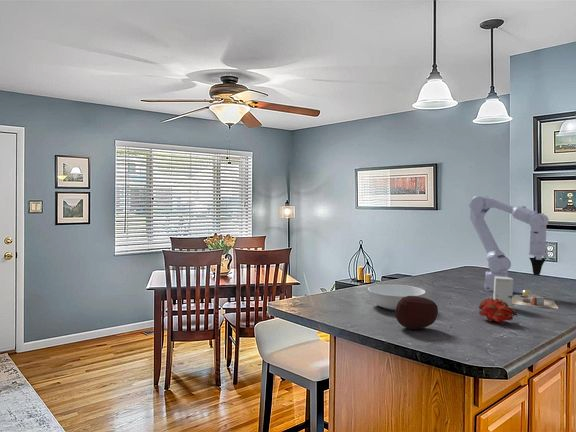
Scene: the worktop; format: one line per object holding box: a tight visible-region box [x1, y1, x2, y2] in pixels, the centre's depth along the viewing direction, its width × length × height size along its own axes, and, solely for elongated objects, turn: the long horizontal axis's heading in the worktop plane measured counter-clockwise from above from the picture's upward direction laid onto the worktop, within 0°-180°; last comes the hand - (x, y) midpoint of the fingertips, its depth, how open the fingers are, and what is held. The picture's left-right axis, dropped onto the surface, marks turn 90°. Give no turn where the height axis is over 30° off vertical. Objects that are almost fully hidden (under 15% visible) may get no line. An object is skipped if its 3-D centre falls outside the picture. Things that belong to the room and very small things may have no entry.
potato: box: [394, 296, 439, 330], centre depth 138 cm, size 11×13×10 cm
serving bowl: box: [367, 283, 427, 311], centre depth 166 cm, size 21×21×7 cm
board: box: [512, 296, 559, 310], centre depth 176 cm, size 17×16×1 cm
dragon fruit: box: [478, 297, 518, 325], centre depth 148 cm, size 8×8×12 cm
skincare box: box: [492, 276, 514, 309], centre depth 165 cm, size 6×4×12 cm
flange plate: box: [513, 293, 545, 306], centre depth 175 cm, size 14×7×3 cm, turn 0°
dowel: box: [531, 297, 535, 305], centre depth 170 cm, size 1×1×3 cm
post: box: [521, 289, 532, 298], centre depth 178 cm, size 3×3×4 cm
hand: (536, 275), depth 186 cm, fingers closed
